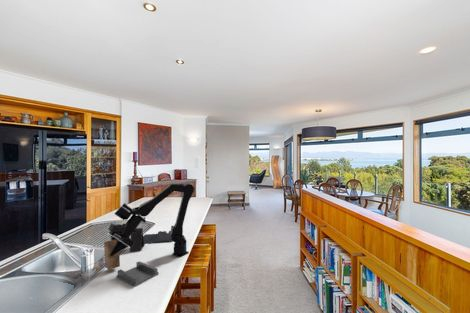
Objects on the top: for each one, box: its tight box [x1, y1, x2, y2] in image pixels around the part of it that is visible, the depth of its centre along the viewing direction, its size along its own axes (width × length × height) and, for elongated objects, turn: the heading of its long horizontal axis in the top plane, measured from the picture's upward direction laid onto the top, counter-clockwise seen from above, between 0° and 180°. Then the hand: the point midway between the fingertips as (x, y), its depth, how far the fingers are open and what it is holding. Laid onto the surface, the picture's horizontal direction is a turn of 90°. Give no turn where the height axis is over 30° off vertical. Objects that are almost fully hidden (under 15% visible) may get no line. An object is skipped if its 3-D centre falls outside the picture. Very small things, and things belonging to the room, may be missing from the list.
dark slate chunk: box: [143, 230, 173, 245], centre depth 154 cm, size 15×22×5 cm
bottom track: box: [116, 261, 159, 287], centre depth 107 cm, size 12×14×3 cm
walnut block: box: [103, 239, 121, 271], centre depth 113 cm, size 5×5×12 cm
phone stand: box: [129, 227, 146, 253], centre depth 139 cm, size 9×6×12 cm, turn 6°
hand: (108, 253), depth 112 cm, fingers closed on walnut block, 5 cm apart
